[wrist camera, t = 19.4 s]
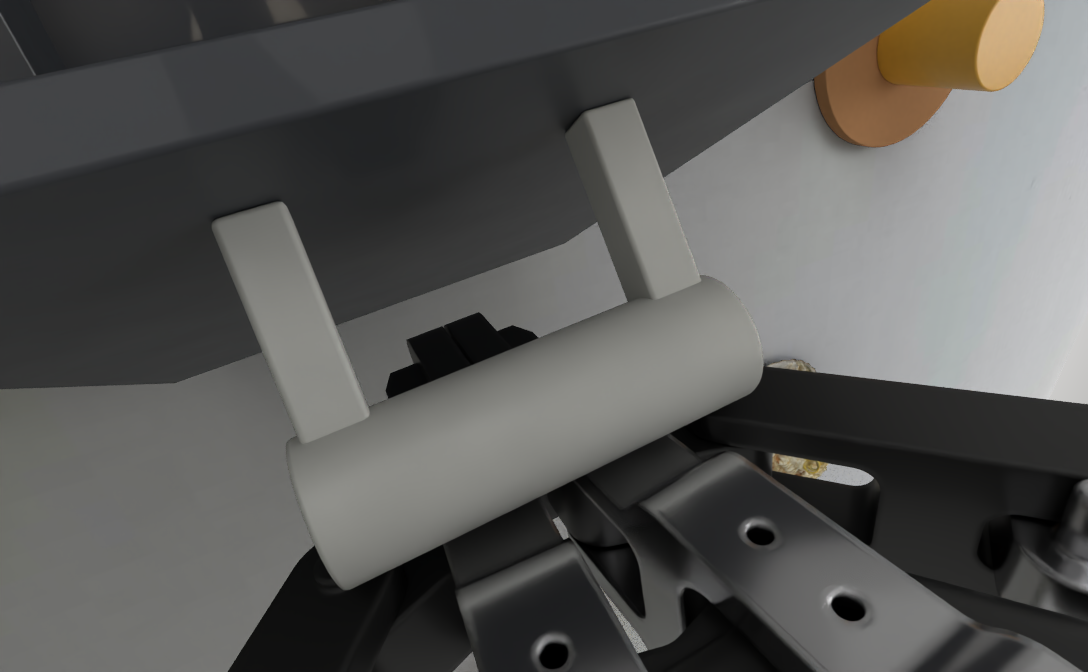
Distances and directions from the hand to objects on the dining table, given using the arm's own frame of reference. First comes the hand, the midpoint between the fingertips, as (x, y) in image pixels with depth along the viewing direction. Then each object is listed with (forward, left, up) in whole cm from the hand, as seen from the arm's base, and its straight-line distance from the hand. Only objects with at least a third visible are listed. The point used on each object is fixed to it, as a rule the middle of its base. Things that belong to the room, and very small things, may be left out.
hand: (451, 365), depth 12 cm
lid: (-2, +1, -2) cm, 3 cm away
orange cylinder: (+18, +23, -13) cm, 32 cm away
